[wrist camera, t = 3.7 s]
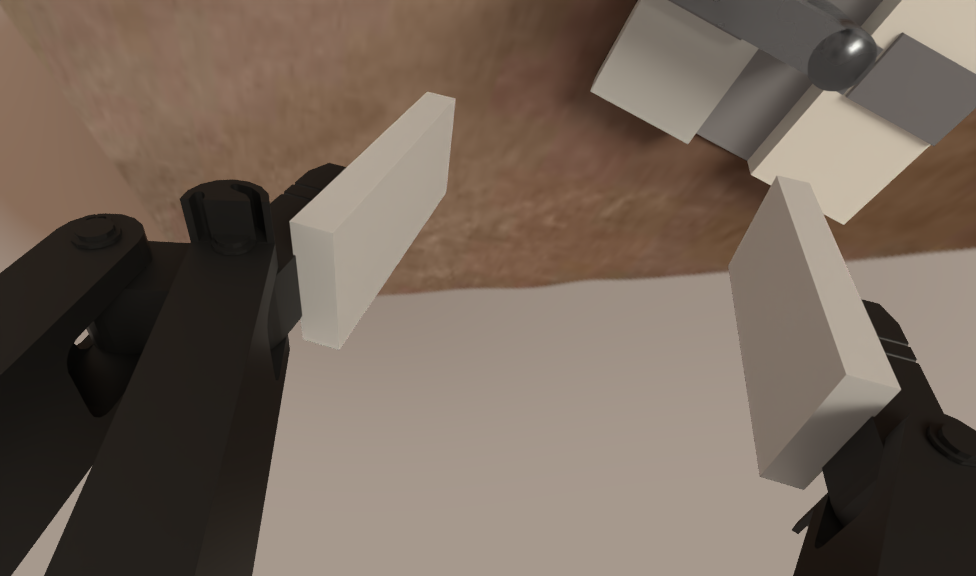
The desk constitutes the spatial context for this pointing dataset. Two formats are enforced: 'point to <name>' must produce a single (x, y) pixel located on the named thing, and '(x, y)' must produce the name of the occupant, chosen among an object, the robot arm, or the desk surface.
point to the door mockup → (801, 93)
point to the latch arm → (799, 36)
